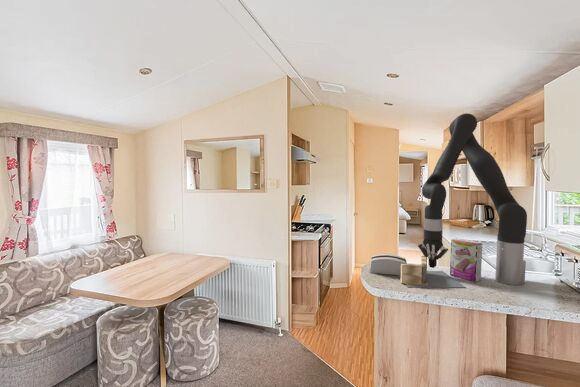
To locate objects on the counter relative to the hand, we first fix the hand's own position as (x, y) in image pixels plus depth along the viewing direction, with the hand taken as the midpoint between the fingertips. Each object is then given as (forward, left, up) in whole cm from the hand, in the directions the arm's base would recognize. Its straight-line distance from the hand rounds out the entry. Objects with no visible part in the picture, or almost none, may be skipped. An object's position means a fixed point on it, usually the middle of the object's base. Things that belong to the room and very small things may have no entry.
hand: (432, 267), depth 136 cm
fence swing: (+5, +2, -4) cm, 6 cm away
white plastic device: (+19, -2, -4) cm, 19 cm away
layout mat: (+4, +4, -4) cm, 7 cm away
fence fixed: (+12, +10, -4) cm, 16 cm away
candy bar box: (-13, +2, -4) cm, 14 cm away
